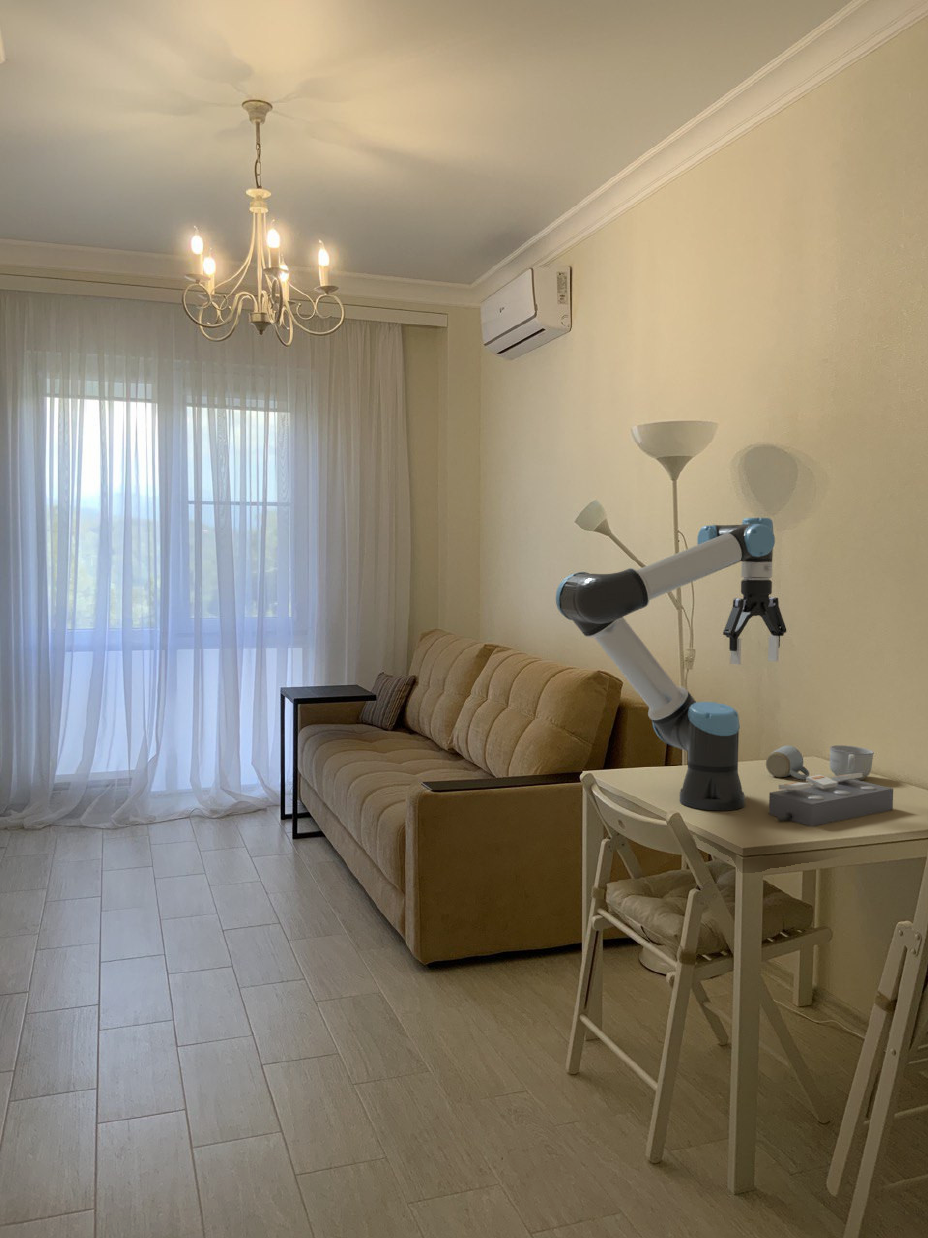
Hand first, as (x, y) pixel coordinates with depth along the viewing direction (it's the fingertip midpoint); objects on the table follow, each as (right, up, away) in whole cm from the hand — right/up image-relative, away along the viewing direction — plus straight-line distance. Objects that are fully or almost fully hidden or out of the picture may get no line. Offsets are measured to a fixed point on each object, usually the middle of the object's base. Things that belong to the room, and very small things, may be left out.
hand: (754, 662), depth 260 cm
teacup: (+28, -31, +10) cm, 43 cm away
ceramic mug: (+13, -31, +13) cm, 36 cm away
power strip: (+9, -34, -25) cm, 43 cm away
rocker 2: (+10, -27, -22) cm, 36 cm away
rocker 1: (+2, -27, -26) cm, 38 cm away
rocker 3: (+17, -27, -17) cm, 36 cm away
